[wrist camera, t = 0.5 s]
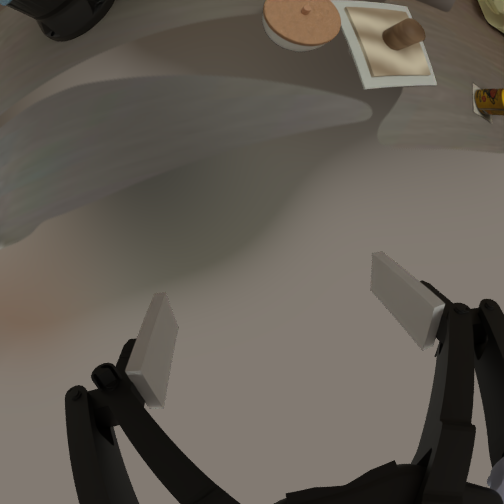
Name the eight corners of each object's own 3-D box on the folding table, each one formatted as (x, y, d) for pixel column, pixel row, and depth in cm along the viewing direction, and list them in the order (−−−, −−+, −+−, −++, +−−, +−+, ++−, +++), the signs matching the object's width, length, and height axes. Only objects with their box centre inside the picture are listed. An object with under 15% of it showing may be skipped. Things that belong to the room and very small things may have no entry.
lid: (343, 8, 29) (363, -10, 22) (403, 13, 29) (426, 1, 21) (371, 77, 34) (397, 67, 27) (427, 75, 34) (455, 70, 27)
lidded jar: (334, 30, 31) (358, 9, 23) (303, 72, 34) (324, 54, 26) (278, -2, 29) (291, -30, 20) (243, 38, 31) (249, 12, 23)
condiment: (472, 83, 35) (510, 81, 24) (490, 96, 36) (526, 97, 25) (472, 111, 37) (512, 113, 26) (491, 123, 38) (528, 128, 27)
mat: (328, 1, 29) (329, 0, 28) (405, 7, 28) (406, 6, 28) (363, 89, 36) (365, 89, 35) (435, 85, 35) (437, 85, 35)
